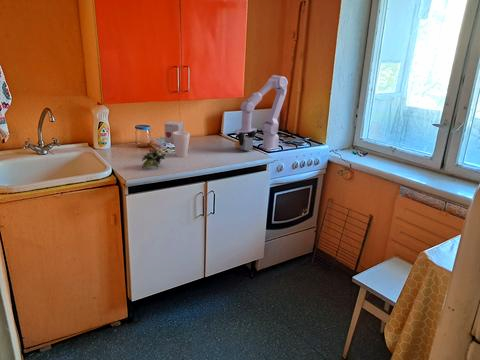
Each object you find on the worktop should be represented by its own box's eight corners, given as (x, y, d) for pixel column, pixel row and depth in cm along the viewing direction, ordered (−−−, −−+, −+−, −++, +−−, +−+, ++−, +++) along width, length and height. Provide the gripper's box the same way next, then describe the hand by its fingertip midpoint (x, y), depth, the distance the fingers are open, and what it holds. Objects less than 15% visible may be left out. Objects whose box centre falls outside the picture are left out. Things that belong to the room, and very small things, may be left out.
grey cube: (246, 146, 233) (246, 136, 231) (252, 148, 228) (253, 137, 226) (238, 147, 229) (239, 137, 227) (244, 149, 225) (245, 139, 223)
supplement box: (164, 147, 228) (163, 123, 223) (170, 144, 237) (169, 120, 231) (178, 149, 227) (178, 124, 221) (184, 145, 235) (183, 121, 230)
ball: (244, 140, 232) (244, 148, 234) (239, 139, 236) (239, 147, 237) (238, 141, 229) (238, 149, 231) (233, 140, 233) (233, 148, 234)
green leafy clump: (154, 174, 199) (164, 154, 201) (161, 177, 190) (172, 156, 192) (135, 165, 193) (146, 144, 195) (142, 167, 184) (154, 145, 186)
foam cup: (169, 155, 213) (169, 133, 209) (179, 152, 221) (179, 130, 217) (183, 158, 209) (183, 135, 205) (193, 154, 217) (193, 132, 213)
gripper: (251, 119, 231) (250, 141, 236) (232, 122, 223) (231, 144, 227) (259, 122, 226) (257, 144, 230) (239, 124, 217) (238, 147, 222)
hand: (245, 144), depth 228 cm, fingers closed on grey cube, 6 cm apart
